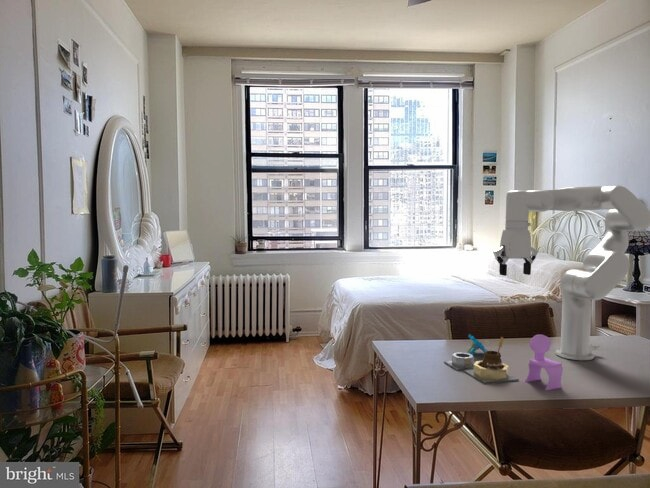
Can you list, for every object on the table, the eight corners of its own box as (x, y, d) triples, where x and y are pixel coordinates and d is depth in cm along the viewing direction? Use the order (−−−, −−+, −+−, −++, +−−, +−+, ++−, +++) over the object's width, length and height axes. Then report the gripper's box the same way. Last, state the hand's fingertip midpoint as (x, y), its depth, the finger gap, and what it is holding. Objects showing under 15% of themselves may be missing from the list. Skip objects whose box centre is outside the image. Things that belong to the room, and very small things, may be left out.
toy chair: (544, 391, 152) (546, 341, 151) (522, 382, 160) (524, 334, 159) (565, 387, 156) (567, 338, 155) (542, 378, 164) (544, 332, 163)
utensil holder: (478, 371, 168) (479, 335, 167) (497, 370, 169) (498, 334, 168) (486, 377, 162) (487, 339, 161) (505, 376, 163) (506, 339, 162)
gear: (494, 354, 184) (474, 334, 184) (483, 366, 184) (462, 346, 184) (486, 350, 195) (467, 331, 195) (475, 361, 195) (456, 342, 195)
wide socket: (495, 368, 173) (496, 358, 173) (518, 380, 161) (519, 369, 161) (464, 371, 170) (464, 361, 169) (485, 384, 158) (485, 372, 158)
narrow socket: (467, 360, 182) (467, 350, 182) (481, 368, 173) (481, 358, 173) (444, 362, 179) (444, 352, 179) (457, 370, 171) (457, 360, 170)
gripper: (530, 225, 186) (529, 272, 188) (488, 225, 182) (487, 274, 183) (545, 226, 179) (543, 275, 180) (501, 226, 174) (500, 277, 176)
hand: (515, 274), depth 182 cm, fingers open, 9 cm apart
